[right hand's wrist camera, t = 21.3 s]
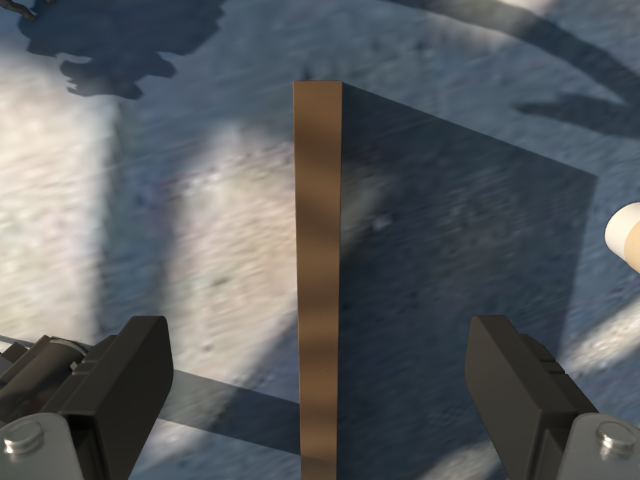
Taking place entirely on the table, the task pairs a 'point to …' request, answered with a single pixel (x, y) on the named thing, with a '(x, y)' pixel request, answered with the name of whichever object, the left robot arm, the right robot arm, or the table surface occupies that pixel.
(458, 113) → the table surface
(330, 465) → the post
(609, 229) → the coffee cup
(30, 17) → the toy
